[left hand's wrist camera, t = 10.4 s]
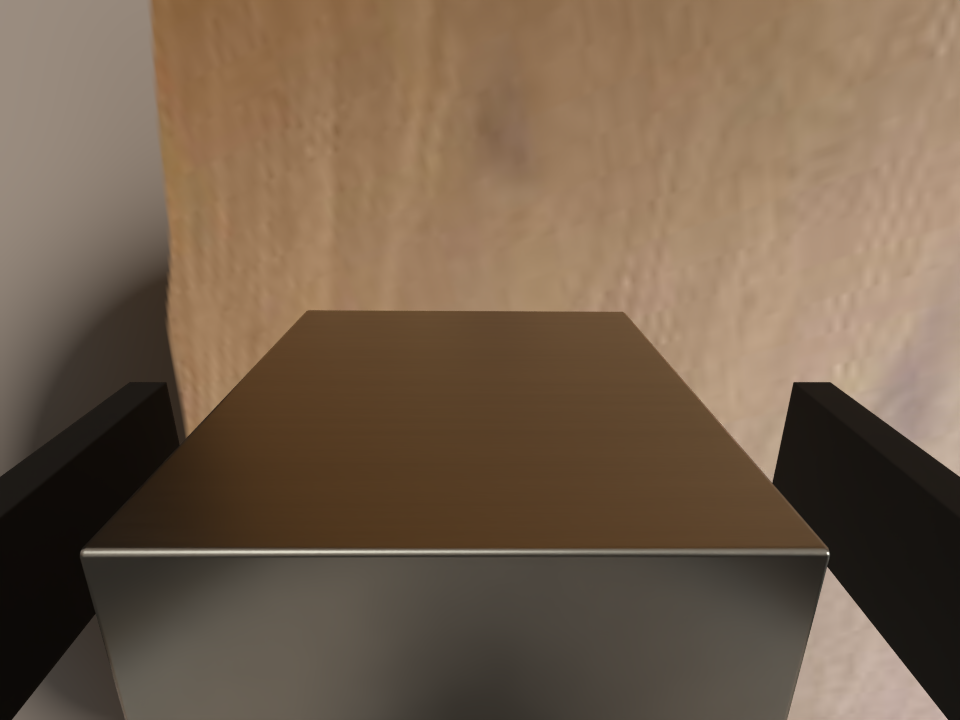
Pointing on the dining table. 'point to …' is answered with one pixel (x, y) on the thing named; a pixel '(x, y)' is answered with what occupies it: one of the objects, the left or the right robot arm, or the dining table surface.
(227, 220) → the dining table surface
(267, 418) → the box
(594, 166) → the dining table surface
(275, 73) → the dining table surface
